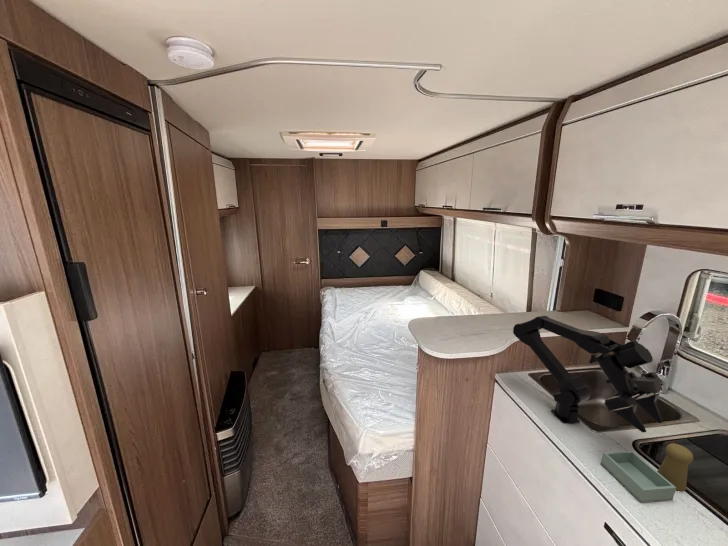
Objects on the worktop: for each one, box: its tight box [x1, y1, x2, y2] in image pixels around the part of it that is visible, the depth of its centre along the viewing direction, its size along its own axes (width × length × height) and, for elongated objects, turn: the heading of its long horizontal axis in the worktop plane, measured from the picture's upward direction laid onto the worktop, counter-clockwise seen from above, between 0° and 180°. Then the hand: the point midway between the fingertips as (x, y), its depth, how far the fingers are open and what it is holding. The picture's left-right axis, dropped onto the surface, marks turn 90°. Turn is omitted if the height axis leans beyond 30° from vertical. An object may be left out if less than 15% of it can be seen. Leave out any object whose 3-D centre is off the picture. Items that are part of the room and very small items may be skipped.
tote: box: [600, 450, 676, 504], centre depth 85 cm, size 12×9×4 cm
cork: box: [656, 442, 694, 493], centre depth 84 cm, size 6×6×11 cm
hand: (652, 427), depth 88 cm, fingers open, 9 cm apart
